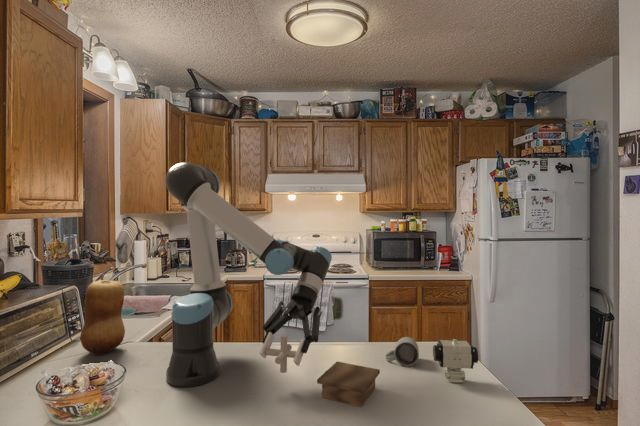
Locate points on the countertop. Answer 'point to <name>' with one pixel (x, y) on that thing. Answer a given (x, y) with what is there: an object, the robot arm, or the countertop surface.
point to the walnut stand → (348, 383)
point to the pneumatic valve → (455, 358)
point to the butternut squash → (103, 317)
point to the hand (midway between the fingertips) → (278, 359)
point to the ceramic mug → (404, 352)
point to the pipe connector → (282, 353)
